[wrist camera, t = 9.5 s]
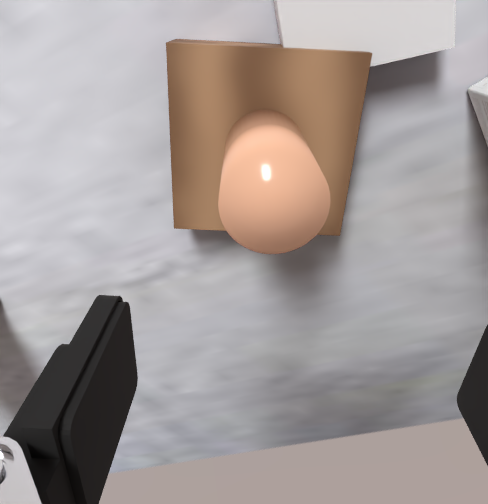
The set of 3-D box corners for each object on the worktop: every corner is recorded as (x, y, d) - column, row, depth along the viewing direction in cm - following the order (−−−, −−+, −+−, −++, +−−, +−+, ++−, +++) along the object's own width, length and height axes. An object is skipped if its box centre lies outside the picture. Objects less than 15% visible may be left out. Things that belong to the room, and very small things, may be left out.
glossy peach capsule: (308, 111, 26) (338, 152, 18) (300, 189, 29) (322, 255, 21) (225, 107, 26) (218, 147, 18) (224, 187, 28) (217, 252, 21)
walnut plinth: (356, 48, 28) (372, 52, 24) (330, 212, 34) (339, 235, 30) (176, 39, 28) (166, 42, 24) (181, 206, 34) (174, 228, 30)
